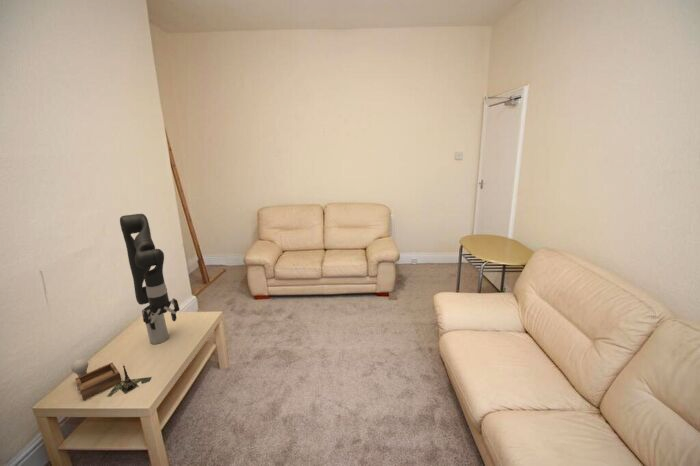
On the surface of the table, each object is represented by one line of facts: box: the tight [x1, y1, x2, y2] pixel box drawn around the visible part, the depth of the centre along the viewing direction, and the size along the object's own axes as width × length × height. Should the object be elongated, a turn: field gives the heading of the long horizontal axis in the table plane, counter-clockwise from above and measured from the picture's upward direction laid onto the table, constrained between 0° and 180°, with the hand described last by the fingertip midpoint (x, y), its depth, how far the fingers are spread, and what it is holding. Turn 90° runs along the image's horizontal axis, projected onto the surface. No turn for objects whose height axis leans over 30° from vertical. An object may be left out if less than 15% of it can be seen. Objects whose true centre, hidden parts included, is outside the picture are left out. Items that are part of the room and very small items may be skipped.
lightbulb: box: [70, 358, 89, 378], centre depth 145 cm, size 6×6×11 cm
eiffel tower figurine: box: [106, 364, 153, 398], centre depth 139 cm, size 15×10×13 cm
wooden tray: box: [75, 362, 123, 401], centre depth 142 cm, size 12×14×5 cm
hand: (164, 324), depth 141 cm, fingers open, 8 cm apart
